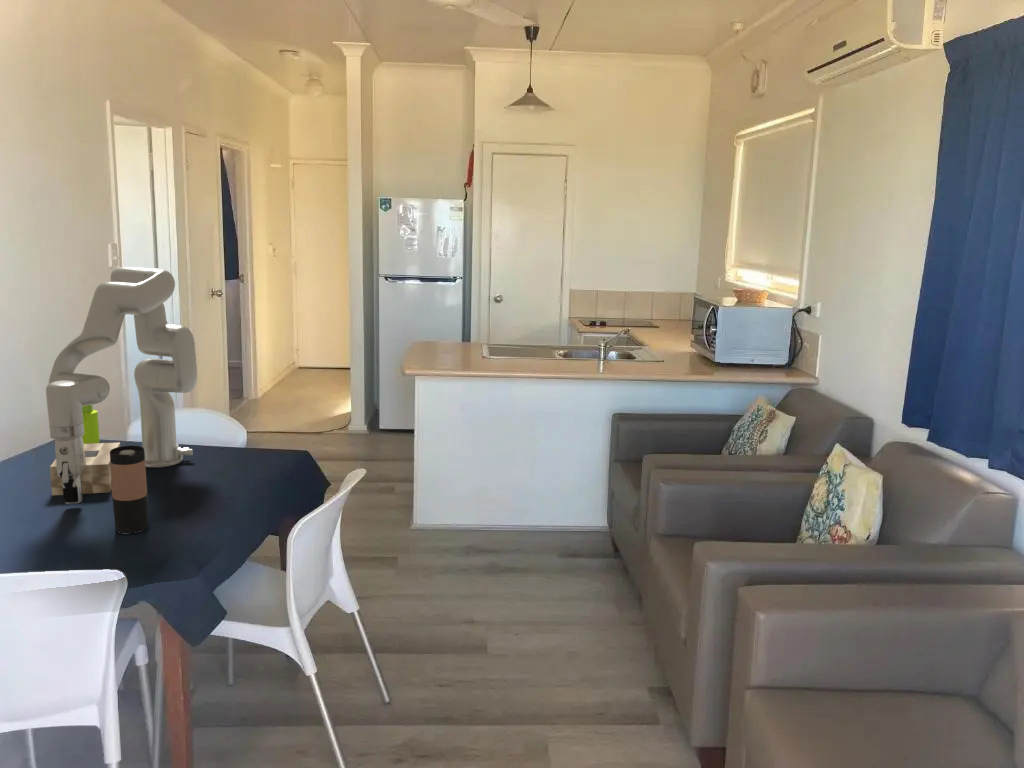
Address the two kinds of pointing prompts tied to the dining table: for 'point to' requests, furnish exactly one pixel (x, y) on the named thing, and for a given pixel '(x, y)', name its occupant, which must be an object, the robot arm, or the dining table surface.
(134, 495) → the travel mug
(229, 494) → the dining table surface
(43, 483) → the dining table surface
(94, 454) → the gray square panel
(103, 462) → the socket block
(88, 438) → the green soap pump bottle
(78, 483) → the peg
